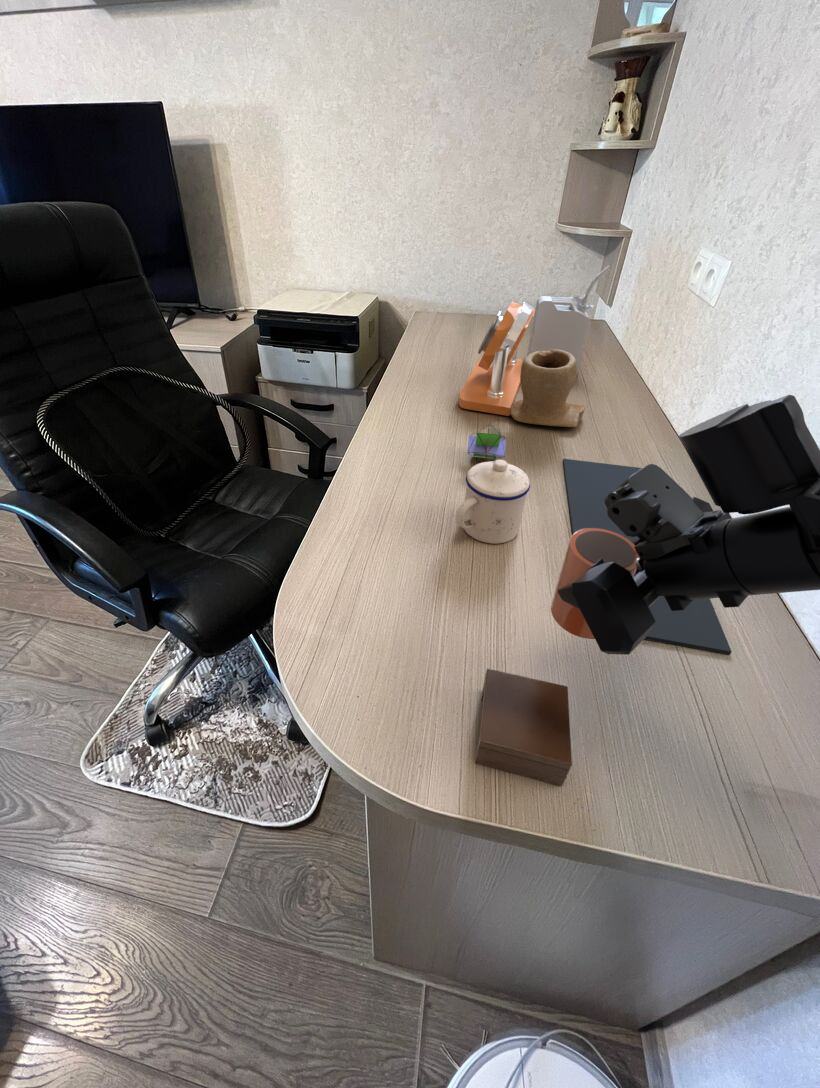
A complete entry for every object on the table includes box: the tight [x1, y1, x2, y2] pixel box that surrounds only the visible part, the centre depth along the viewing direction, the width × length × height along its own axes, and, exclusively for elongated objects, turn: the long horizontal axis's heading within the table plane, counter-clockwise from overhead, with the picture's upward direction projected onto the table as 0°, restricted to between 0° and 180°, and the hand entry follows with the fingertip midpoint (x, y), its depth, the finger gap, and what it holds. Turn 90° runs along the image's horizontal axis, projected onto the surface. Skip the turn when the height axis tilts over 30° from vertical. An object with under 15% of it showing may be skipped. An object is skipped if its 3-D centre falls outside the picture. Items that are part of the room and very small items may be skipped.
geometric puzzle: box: [466, 423, 507, 462], centre depth 91 cm, size 7×7×8 cm
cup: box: [550, 528, 639, 640], centre depth 49 cm, size 6×6×9 cm
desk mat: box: [562, 458, 733, 655], centre depth 75 cm, size 40×16×1 cm, turn 166°
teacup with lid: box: [455, 459, 531, 545], centre depth 73 cm, size 12×9×12 cm
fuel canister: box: [526, 265, 612, 372], centre depth 124 cm, size 15×5×25 cm, turn 80°
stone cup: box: [509, 349, 586, 428], centre depth 102 cm, size 15×12×15 cm
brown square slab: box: [474, 668, 573, 787], centre depth 49 cm, size 8×8×4 cm
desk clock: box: [458, 301, 535, 417], centre depth 115 cm, size 12×30×20 cm, turn 159°
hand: (579, 579), depth 50 cm, fingers closed on cup, 6 cm apart
